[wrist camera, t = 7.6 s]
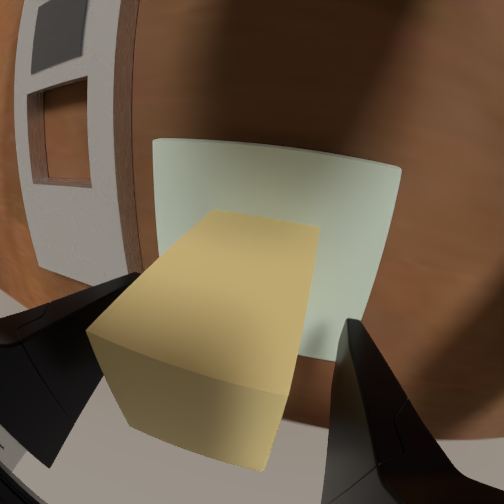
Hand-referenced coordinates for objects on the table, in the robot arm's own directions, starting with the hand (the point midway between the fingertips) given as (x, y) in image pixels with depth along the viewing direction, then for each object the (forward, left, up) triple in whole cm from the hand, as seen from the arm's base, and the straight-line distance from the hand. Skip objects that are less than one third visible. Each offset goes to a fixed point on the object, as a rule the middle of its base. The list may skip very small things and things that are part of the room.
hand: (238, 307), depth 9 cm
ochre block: (0, 0, -3) cm, 3 cm away
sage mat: (0, 0, -3) cm, 3 cm away
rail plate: (+10, -7, -3) cm, 13 cm away
